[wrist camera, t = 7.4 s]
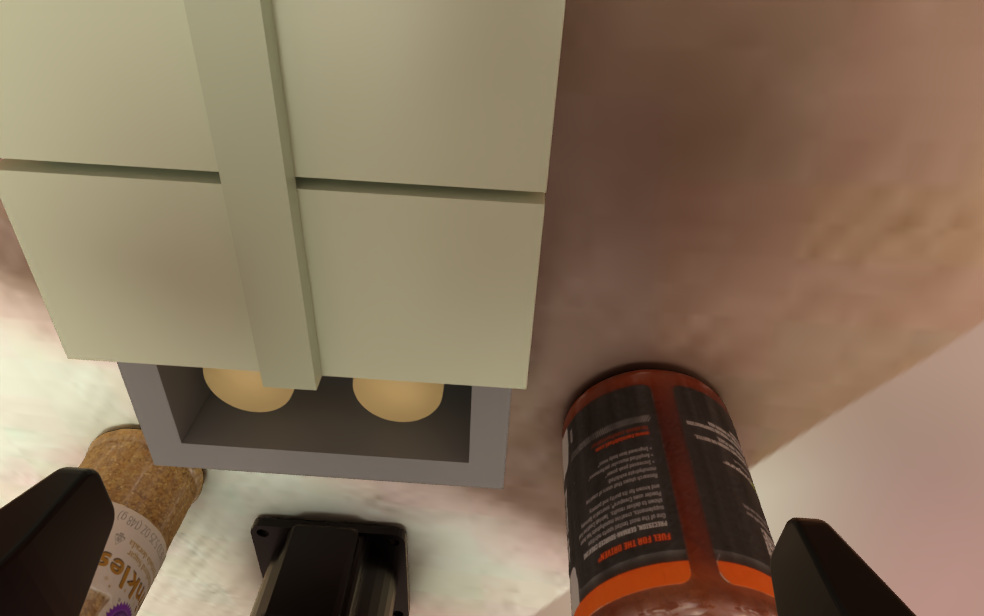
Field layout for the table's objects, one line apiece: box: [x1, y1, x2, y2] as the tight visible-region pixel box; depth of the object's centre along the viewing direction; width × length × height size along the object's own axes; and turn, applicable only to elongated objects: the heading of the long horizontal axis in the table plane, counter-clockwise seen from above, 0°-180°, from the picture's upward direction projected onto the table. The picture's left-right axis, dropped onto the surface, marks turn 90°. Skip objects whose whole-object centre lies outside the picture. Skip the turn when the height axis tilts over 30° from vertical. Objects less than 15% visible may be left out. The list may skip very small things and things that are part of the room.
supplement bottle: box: [562, 369, 778, 616], centre depth 20 cm, size 6×6×11 cm
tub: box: [117, 362, 512, 489], centre depth 17 cm, size 14×10×5 cm
